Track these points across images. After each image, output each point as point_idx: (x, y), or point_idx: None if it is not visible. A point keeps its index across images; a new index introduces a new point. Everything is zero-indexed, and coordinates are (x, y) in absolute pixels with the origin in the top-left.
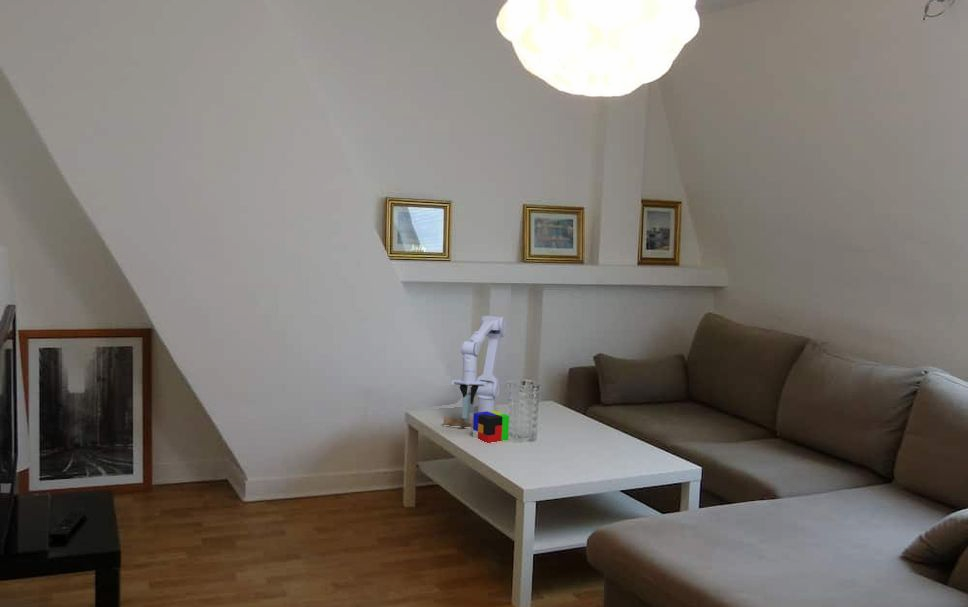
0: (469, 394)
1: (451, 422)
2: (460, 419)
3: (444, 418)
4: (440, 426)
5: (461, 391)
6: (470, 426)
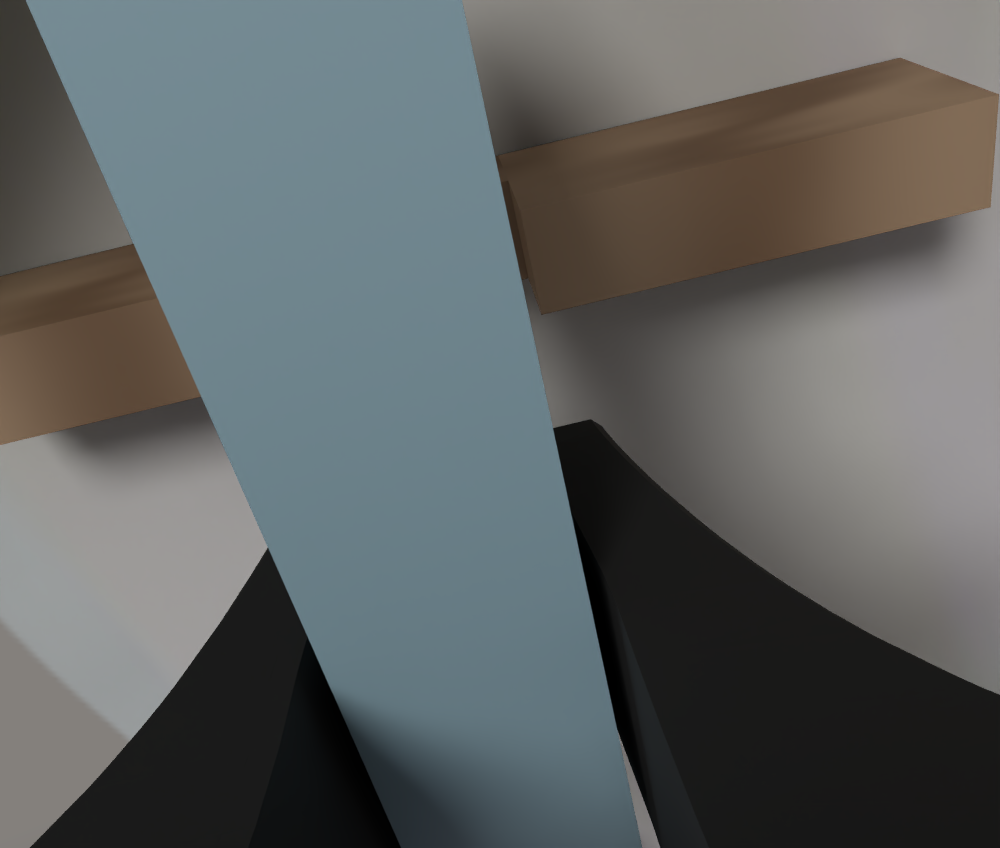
0: (517, 845)
1: (773, 118)
2: (594, 199)
3: (977, 98)
4: (959, 36)
5: (946, 682)
6: None
